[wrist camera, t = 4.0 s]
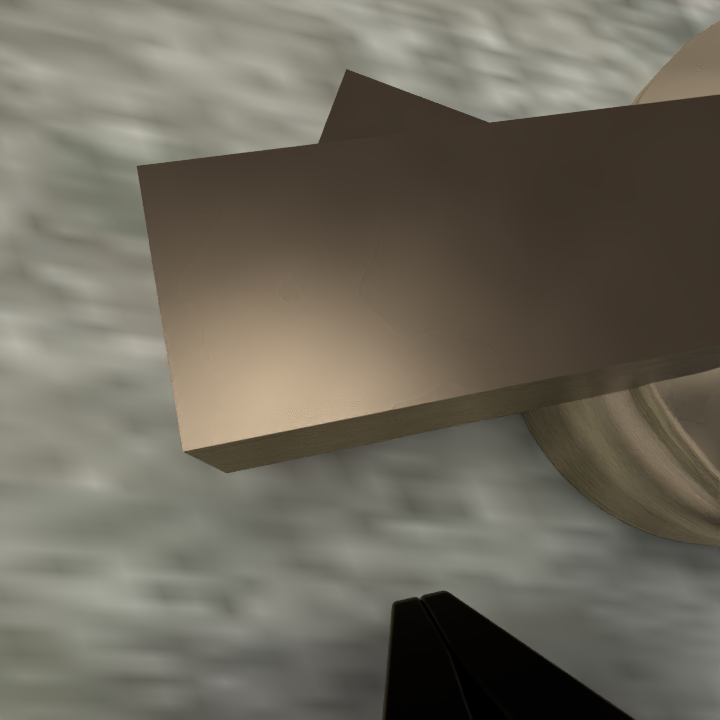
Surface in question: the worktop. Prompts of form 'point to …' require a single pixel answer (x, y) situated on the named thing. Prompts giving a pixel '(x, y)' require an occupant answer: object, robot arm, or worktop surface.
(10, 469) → the worktop surface
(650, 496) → the cooker pot
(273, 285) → the cooker lid
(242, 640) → the worktop surface
